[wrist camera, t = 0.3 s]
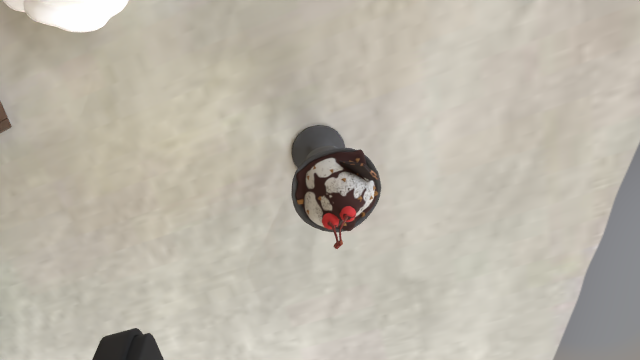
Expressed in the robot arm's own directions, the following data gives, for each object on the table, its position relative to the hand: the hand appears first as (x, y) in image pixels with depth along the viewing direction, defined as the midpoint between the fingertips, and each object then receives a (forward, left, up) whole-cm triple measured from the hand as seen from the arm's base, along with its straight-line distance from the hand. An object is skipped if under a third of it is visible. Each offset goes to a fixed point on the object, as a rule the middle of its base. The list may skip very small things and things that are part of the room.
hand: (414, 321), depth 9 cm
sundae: (+8, +1, -36) cm, 37 cm away
